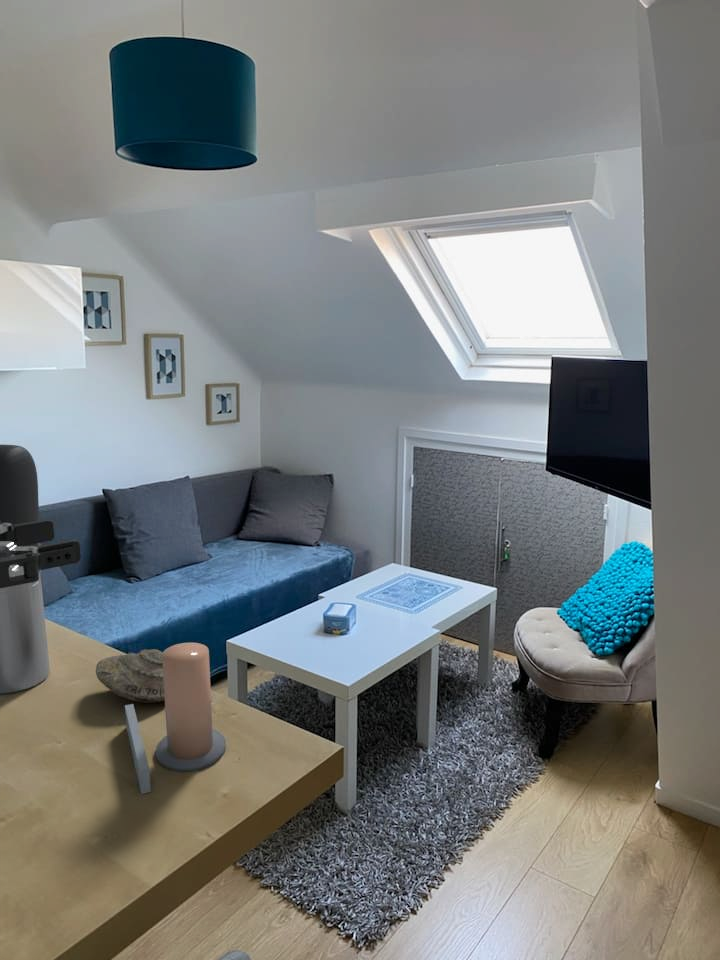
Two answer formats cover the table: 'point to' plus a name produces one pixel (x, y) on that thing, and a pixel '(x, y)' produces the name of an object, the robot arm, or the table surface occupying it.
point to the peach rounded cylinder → (187, 700)
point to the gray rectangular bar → (137, 749)
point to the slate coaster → (191, 764)
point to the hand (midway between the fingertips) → (65, 539)
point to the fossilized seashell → (134, 675)
